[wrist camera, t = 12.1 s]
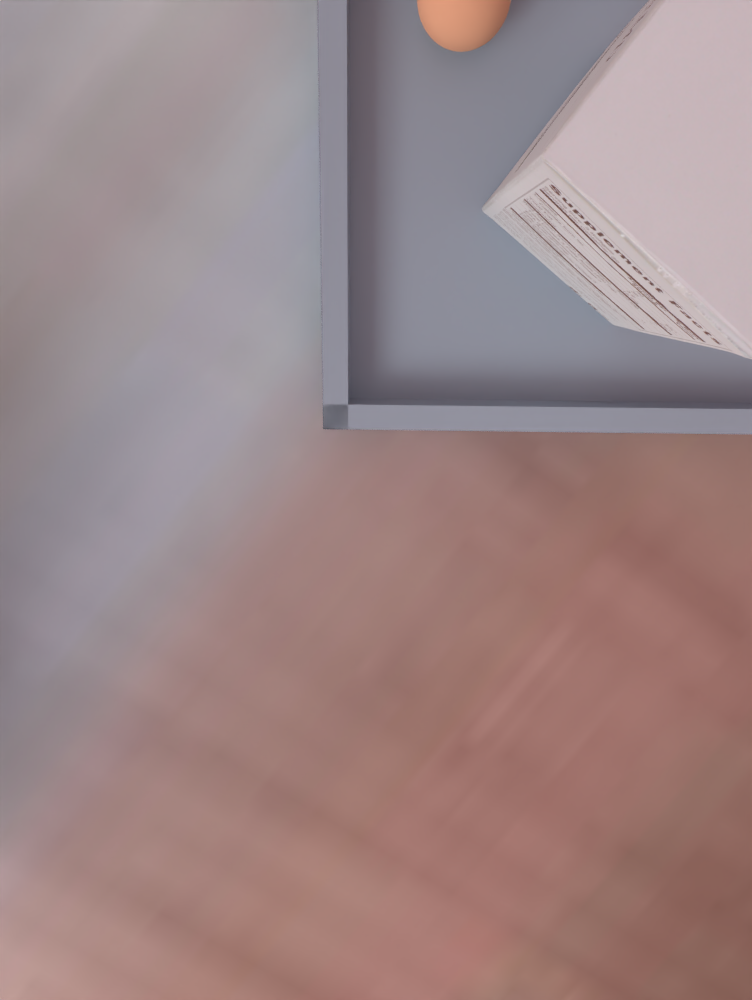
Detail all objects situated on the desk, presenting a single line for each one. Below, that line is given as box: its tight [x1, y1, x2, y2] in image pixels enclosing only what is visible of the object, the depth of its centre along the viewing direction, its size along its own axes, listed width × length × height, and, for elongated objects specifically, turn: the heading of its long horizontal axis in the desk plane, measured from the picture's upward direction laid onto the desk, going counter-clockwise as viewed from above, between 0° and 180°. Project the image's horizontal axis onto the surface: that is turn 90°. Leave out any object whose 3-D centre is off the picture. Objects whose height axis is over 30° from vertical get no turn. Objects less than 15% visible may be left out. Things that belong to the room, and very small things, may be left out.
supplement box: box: [482, 0, 752, 359], centre depth 22 cm, size 7×7×13 cm
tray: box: [317, 0, 752, 434], centre depth 27 cm, size 22×18×2 cm
